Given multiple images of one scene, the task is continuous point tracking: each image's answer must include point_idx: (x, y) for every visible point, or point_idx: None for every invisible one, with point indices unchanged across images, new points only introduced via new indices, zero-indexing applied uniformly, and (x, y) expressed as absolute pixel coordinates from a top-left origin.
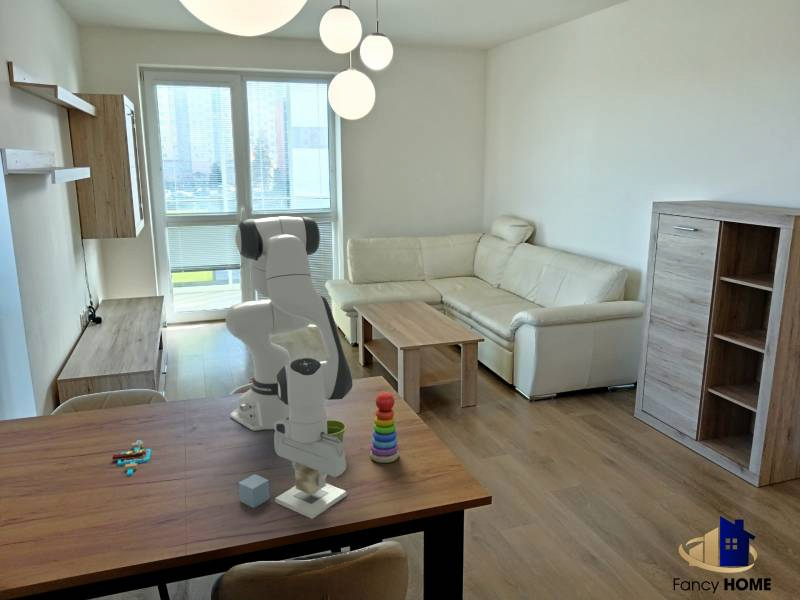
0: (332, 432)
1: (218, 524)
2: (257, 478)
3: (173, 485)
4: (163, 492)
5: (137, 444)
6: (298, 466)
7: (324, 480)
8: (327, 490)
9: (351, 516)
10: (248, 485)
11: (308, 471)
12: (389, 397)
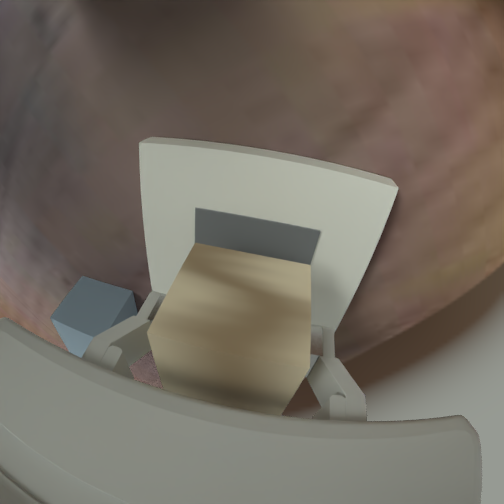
0: None
1: (145, 374)
2: (75, 335)
3: (5, 295)
4: (17, 313)
5: None
6: (133, 347)
7: (332, 348)
8: (303, 215)
9: (441, 290)
10: None
11: (239, 406)
12: None
